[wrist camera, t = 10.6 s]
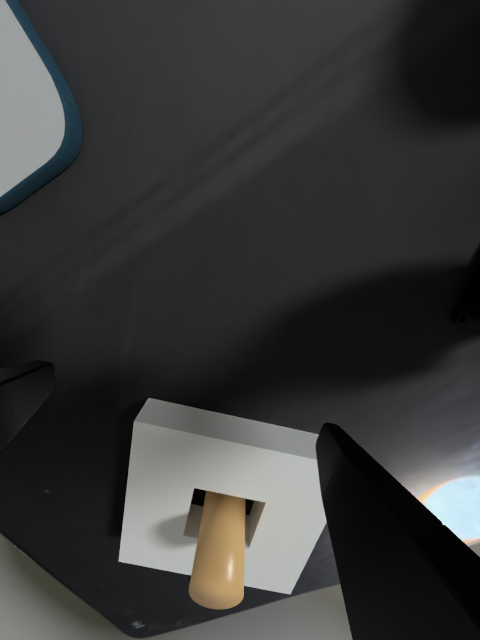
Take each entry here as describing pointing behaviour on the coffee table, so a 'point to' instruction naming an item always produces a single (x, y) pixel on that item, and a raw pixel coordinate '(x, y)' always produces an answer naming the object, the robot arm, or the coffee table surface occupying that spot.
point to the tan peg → (219, 553)
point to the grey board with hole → (221, 491)
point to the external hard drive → (32, 110)
